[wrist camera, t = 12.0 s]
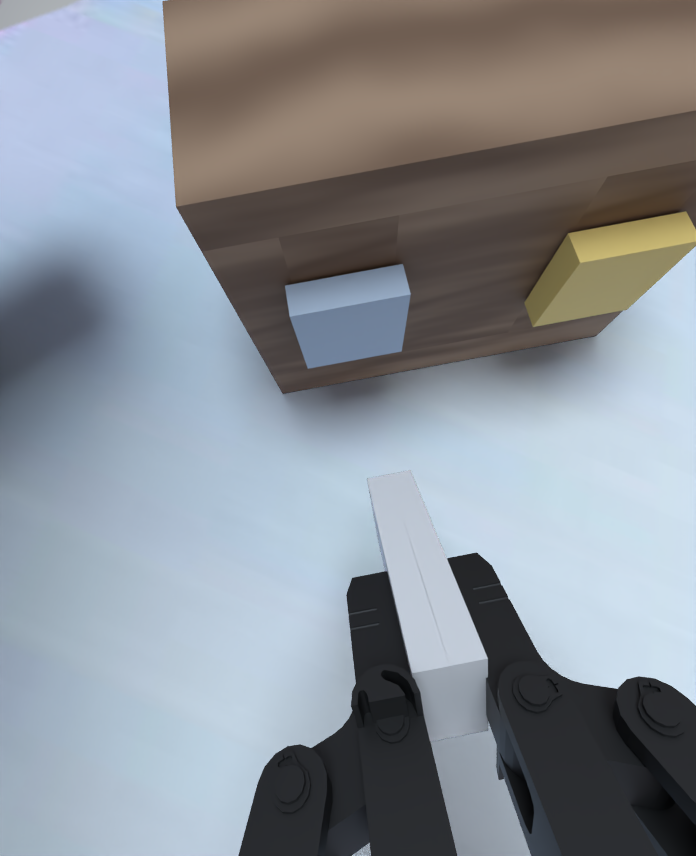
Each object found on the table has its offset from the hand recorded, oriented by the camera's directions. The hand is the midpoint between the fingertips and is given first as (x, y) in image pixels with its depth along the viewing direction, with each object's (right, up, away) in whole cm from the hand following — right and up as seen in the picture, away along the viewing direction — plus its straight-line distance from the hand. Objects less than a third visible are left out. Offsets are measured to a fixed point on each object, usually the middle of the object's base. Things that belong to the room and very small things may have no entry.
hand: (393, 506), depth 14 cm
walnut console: (+4, +12, +15) cm, 20 cm away
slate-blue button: (-2, +10, +8) cm, 13 cm away
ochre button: (+10, +12, +8) cm, 18 cm away
